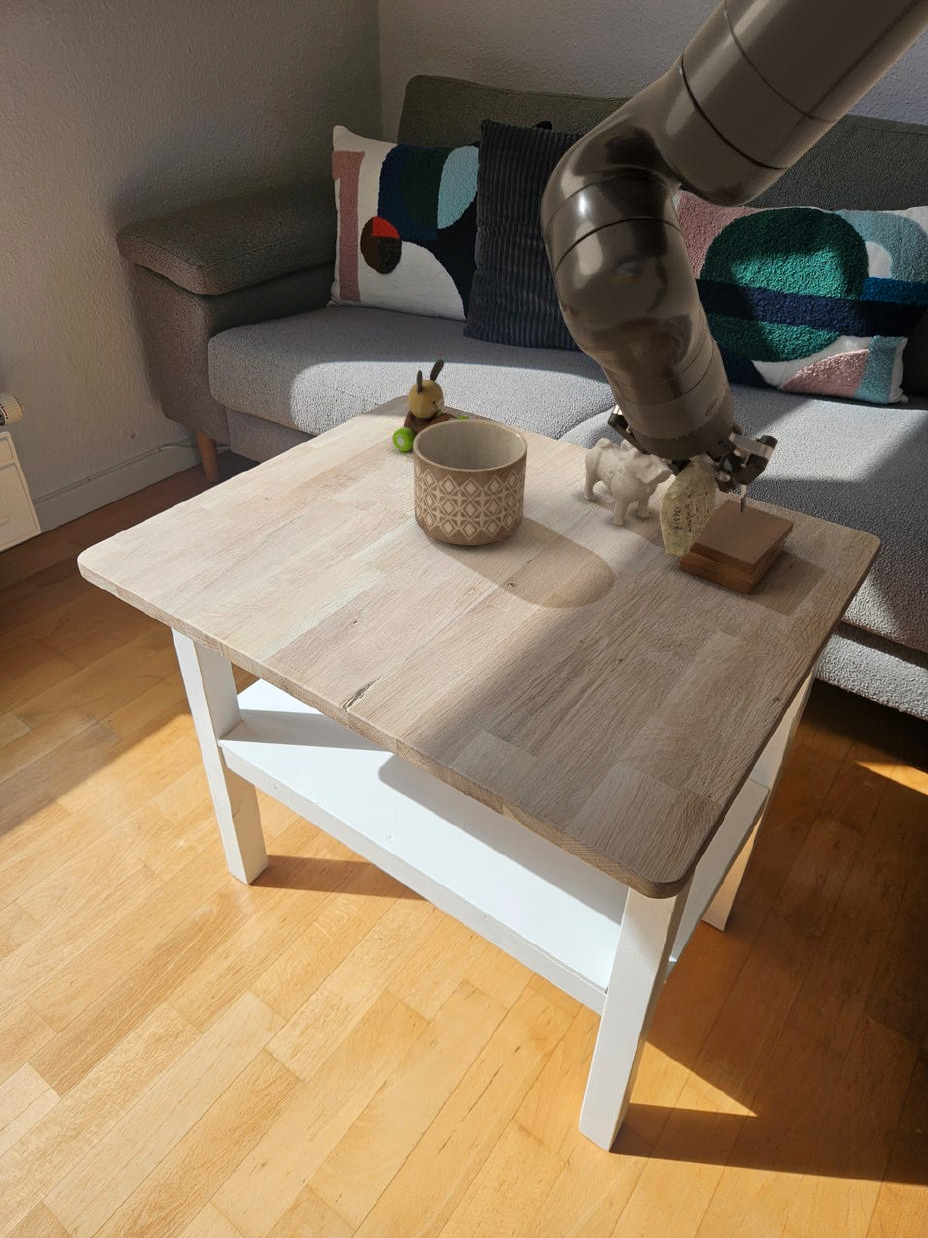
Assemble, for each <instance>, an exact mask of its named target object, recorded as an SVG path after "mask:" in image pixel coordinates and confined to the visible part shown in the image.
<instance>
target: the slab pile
mask: <svg viewBox="0 0 928 1238" xmlns="http://www.w3.org/2000/svg"><path fill="white" fill-rule="evenodd" d="M794 526H795V521H792V520H789V519H786V518H784V517H782V516H778V515H776V514H773V513H770V512H767V511H764V510H761V509H758V508H757V507H752V506H750V505H747V504H746V507H745V509H744V510H743V512H741V502H739V501H736V500H733V499H731V498H727V499H726V500H725V501H724V502H723V503H722V504H721V505H720V506H718V507H717V508H716V507H715V510H714V513H713V515H712V517H711V518H710V520H709V522H708V523H707V524H706V525H705V527H704V529H703V531H702V532H701V534H700V536H699V538H698V539H697V541H696V542H695V543H694V544H693V546H692V547H691V549H690V551H689V553H688V555H687V556H686V557H681V558H680V559H679V565H678V570H681V571H684V572H686V573H689V574H692V575H695V576H697V577H700V578H703V579H705V580H708V581H710V582H713V583H716V584H717V585H718V584H719V585H721V586H724V587H726V588H729V589H732V590H735V591H737V592H740V593H743V594H745V595H748V594H749V593H750V592H751V590H753V588H754V587H755V586H756V584H757V583H758V582H759V580H760V579H761V578H762V577H763V575H764V574H765V573H766V572H767V571H768V569H769V568H770V567H771V566H772V564H773V563H774V561H776V559H777V558H778V557H779V555H780V554H781V553H782V552H783V551H784V549H785V545H786V542H787V541H786V540H785V539H787V537H789V535H790V534H791V533H792V532H793V529H794Z"/></svg>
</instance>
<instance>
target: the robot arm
mask: <svg viewBox="0 0 928 1238" xmlns="http://www.w3.org/2000/svg"><path fill="white" fill-rule="evenodd" d="M927 29H928V0H721V1H720V2H719V4H718V6H716V8H715V9H714V11H712V13H711V14H710V15H709V17H707V19H706V21H705V22H704V23H703V24H702V26H701V27H700V28H699V29H698V31H697V32H696V34H695V35H694V36H693V37H692V39H691V40H690V41H689V42H688V44H687V46H686V47H685V48H683V50H682V51H681V53H680V54H679V56H678V57H677V58H676V59H675V61H674V63H673V64H672V65H671V67H670V68H669V70H667V71H666V73H664V74H663V75H661V77H659V78H658V79H656V80H655V81H654V82H652V83H651V84H650V85H648V86H647V87H645V88H644V89H642V90H641V91H640V92H638V93H637V94H636V95H635V96H633V97H632V98H630V99H629V100H627V102H625V103H624V104H623V105H622V106H620V107H619V108H618V109H617V110H616V111H614V112H613V113H612V114H610V115H609V116H608V117H606V118H605V119H604V120H602V122H600V123H599V124H597V125H596V126H595V127H593V129H591V130H590V131H588V132H587V133H586V134H585V135H583V136H582V137H581V138H580V139H578V140H577V141H576V142H575V143H574V144H573V145H572V146H570V148H568V150H567V151H565V153H564V155H563V156H561V158H560V159H559V161H558V162H557V163H556V165H555V167H554V168H553V171H552V172H551V174H550V176H549V179H548V181H547V183H546V185H545V188H544V190H543V193H542V197H541V202H540V208H539V223H540V229H541V233H542V238H543V241H544V242H543V243H544V245H545V250H546V254H547V259H548V264H549V267H550V272H551V276H552V280H553V284H554V290H555V294H556V297H557V302H558V305H559V310H560V312H561V315H562V317H563V318H562V319H563V320H564V323H565V325H566V327H567V329H568V331H569V333H570V335H571V337H572V339H573V341H574V342H575V344H576V345H577V346H578V348H579V349H580V350H581V351H582V352H583V353H584V354H586V355H587V356H589V357H590V358H591V359H593V360H594V361H595V362H597V363H598V364H599V366H600V368H601V370H602V371H603V373H604V375H605V377H606V379H607V381H608V383H609V386H610V390H611V393H612V396H613V399H614V401H615V404H614V406H613V408H612V410H611V412H610V415H609V417H608V419H607V422H606V423H607V424H608V426H610V427H611V428H612V429H613V430H614V431H615V432H616V433H618V434H619V435H620V436H621V437H622V438H623V439H624V440H625V439H626V440H627V441H628V442H629V443H630V444H631V445H633V446H634V447H635V448H636V449H637V450H638V451H640V452H641V453H642V454H644V455H651V454H653V455H655V456H657V457H658V459H659V460H660V461H662V462H663V463H665V464H666V466H667V467H668V468H669V469H670V470H671V471H672V474H673V475H674V477H675V478H676V476H677V475H678V474H679V473H680V472H681V471H682V470H683V469H684V468H685V467H686V466H687V465H688V463H689V462H690V461H691V460H694V461H695V462H696V463H697V464H698V465H699V466H700V468H701V469H702V470H703V471H705V472H709V473H713V475H714V476H715V480H716V483H717V488H718V490H719V492H721V493H724V494H730V491H731V490H732V491H736V489H737V488H738V486H739V485H740V486H741V485H746V486H749V485H750V484H751V483H753V482H754V481H755V480H756V479H757V478H758V477H759V476H760V475H762V474H763V473H764V472H765V471H766V468H767V467H768V464H769V462H770V460H771V458H772V455H773V453H774V451H775V449H776V447H777V445H778V442H779V440H778V439H777V438H776V437H774V436H772V435H770V434H769V435H767V434H763V435H762V436H761V437H760V438H759V437H756V436H754V437H753V438H752V439H751V438H749V437H748V436H747V437H745V436H743V429H742V427H741V426H740V424H738V422H736V421H735V420H734V399H733V394H732V390H731V387H730V384H729V379H728V376H727V373H726V369H725V366H724V361H723V359H722V355H721V352H720V351H721V350H720V349H719V347H718V344H717V342H716V340H715V339H714V337H713V336H712V333H711V330H710V329H711V328H710V326H709V322H708V318H707V315H706V313H705V309H704V306H703V303H702V301H701V299H700V295H699V290H698V286H697V281H696V277H695V273H694V269H693V265H692V260H691V257H690V254H689V250H688V247H687V243H686V240H685V236H684V233H683V230H682V227H681V224H680V220H679V216H678V214H677V213H678V212H677V210H676V206H675V204H674V203H675V202H674V197H675V195H676V194H677V192H678V190H679V189H680V187H681V186H683V187H684V188H685V189H686V190H687V191H688V192H690V193H691V194H692V195H693V196H695V197H696V198H698V199H699V200H701V201H703V202H705V203H708V204H710V205H713V206H716V207H720V208H734V207H741V206H743V205H746V204H748V203H749V202H752V201H754V200H755V199H757V198H758V197H760V196H761V195H762V194H764V193H765V192H766V191H767V190H769V189H770V188H771V187H772V186H773V185H774V184H775V183H776V182H777V181H778V180H780V178H781V177H782V176H783V175H784V174H786V172H788V171H789V170H790V169H791V168H792V167H793V165H795V164H796V163H797V162H798V161H799V160H800V159H801V158H802V157H803V156H804V155H805V154H806V153H808V151H809V150H810V149H811V148H812V147H813V146H814V145H815V144H817V142H818V141H820V139H821V138H822V137H823V136H824V135H825V134H826V133H828V132H829V130H831V128H833V127H834V126H835V125H836V123H838V122H839V121H840V120H841V119H842V118H843V117H845V116H846V114H847V113H848V112H849V111H850V110H851V109H852V108H853V107H854V106H855V105H857V103H859V101H860V100H861V99H862V98H863V97H864V96H866V94H867V93H868V92H869V91H870V90H871V89H872V88H873V87H874V86H876V84H877V83H878V82H879V81H880V79H882V77H884V75H885V74H887V72H888V71H889V70H890V69H891V68H892V67H893V66H894V65H895V64H896V63H897V62H898V60H899V59H900V58H902V56H903V55H904V54H905V53H906V52H907V51H908V50H909V48H910V47H912V46H913V44H914V43H915V42H916V41H917V40H918V39H919V37H920V36H922V34H923V33H924V32H925V31H926V30H927Z"/></svg>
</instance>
